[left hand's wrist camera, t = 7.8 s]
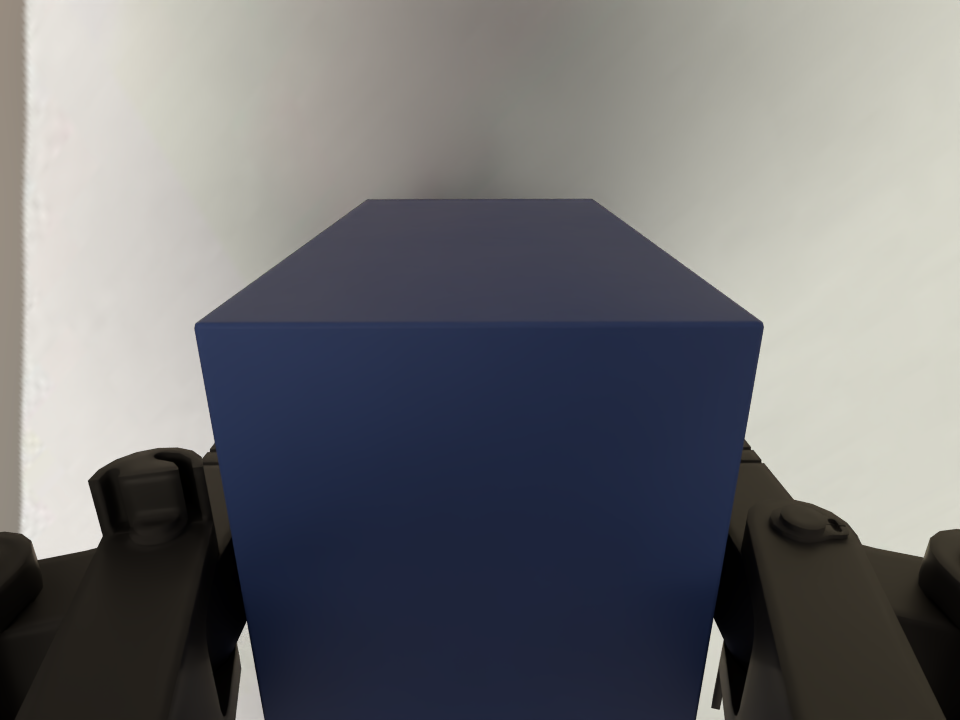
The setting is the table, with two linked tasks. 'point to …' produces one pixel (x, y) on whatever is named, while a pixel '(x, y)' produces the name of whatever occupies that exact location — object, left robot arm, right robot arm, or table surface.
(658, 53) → the table surface
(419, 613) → the bar
